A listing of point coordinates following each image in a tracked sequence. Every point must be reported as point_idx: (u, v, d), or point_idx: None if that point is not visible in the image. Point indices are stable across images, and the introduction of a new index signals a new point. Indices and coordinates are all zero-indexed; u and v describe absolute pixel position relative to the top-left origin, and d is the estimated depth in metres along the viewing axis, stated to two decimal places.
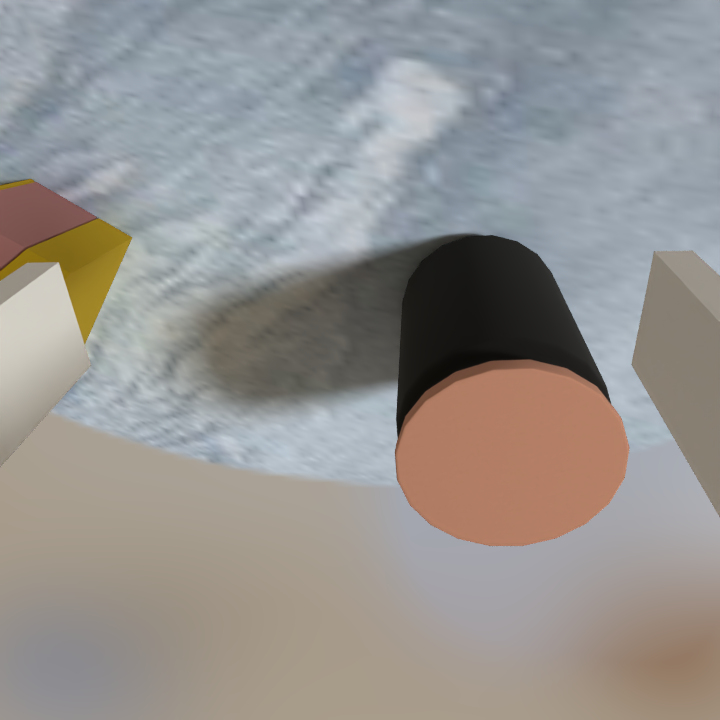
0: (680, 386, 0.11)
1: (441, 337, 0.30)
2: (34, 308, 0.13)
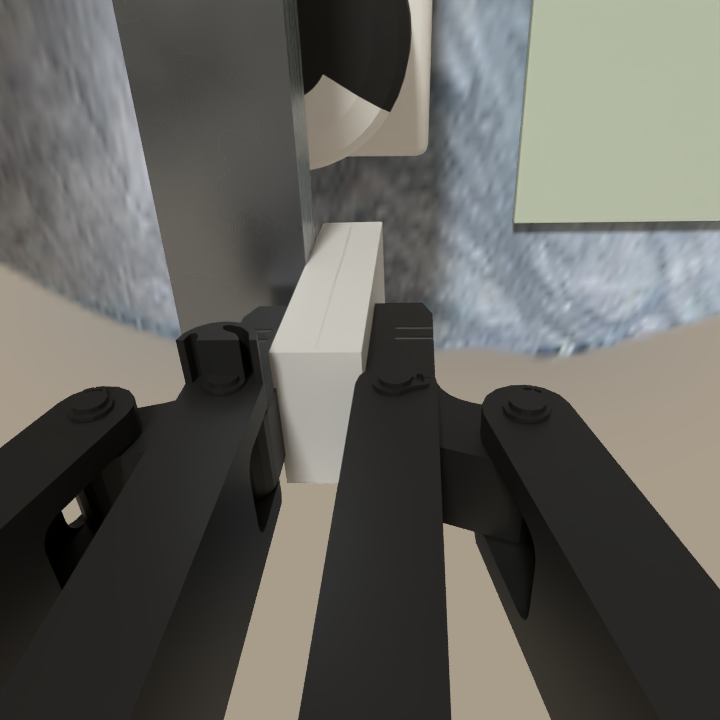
0: None
1: None
2: None
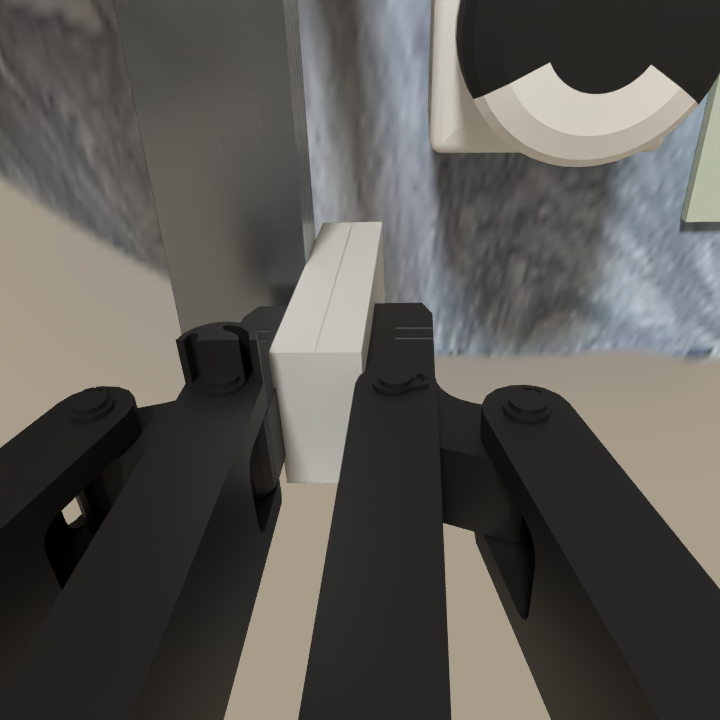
0: None
1: None
2: None
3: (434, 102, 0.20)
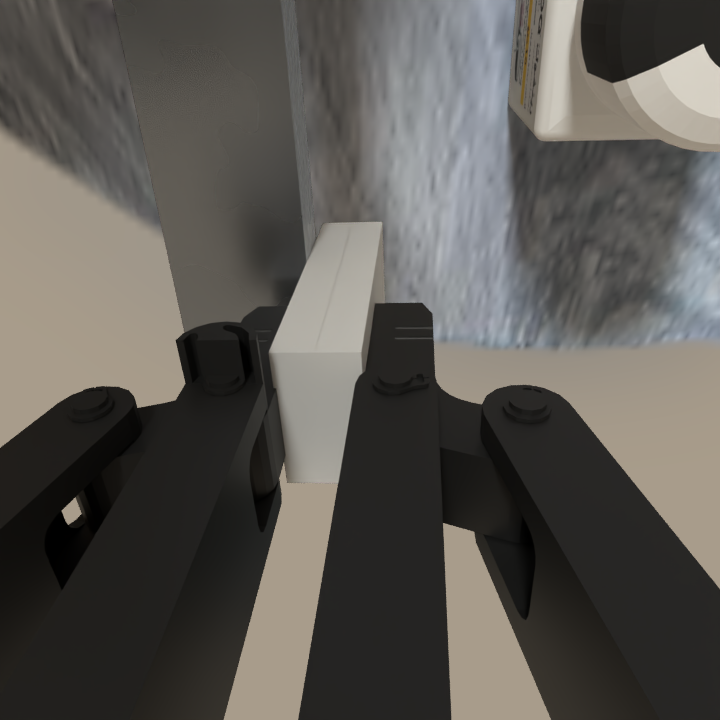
0: None
1: None
2: None
3: (542, 89, 0.20)
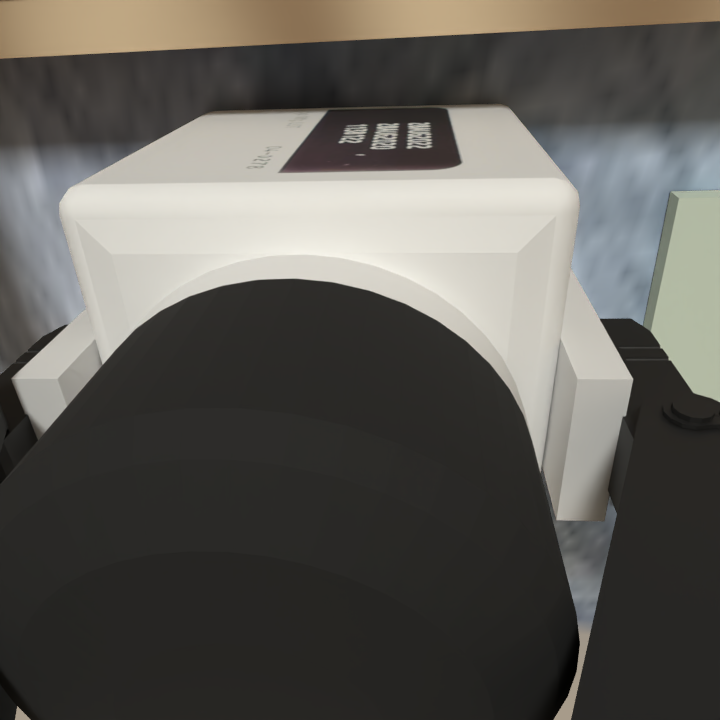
0: None
1: None
2: None
3: None
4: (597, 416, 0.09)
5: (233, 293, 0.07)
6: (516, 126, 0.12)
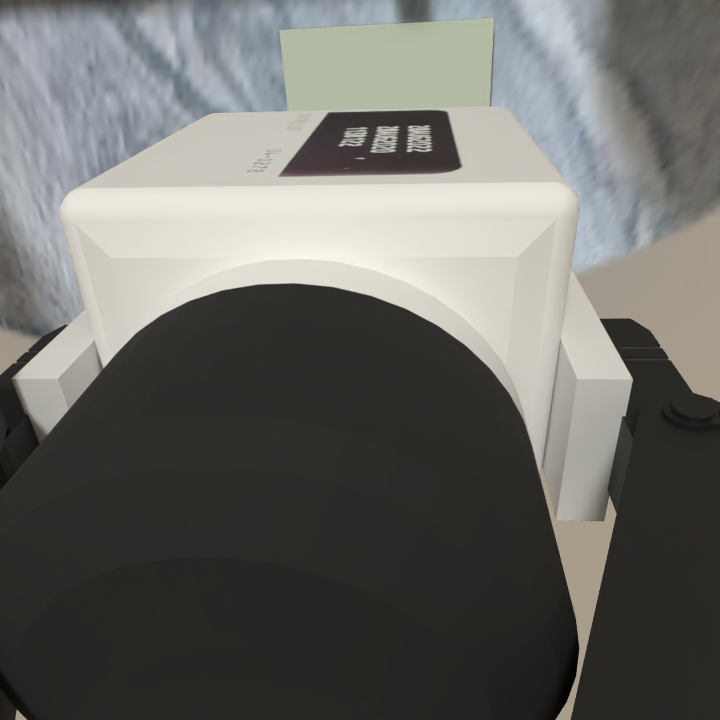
0: None
1: None
2: None
3: None
4: (597, 416, 0.09)
5: (233, 298, 0.07)
6: (516, 129, 0.12)
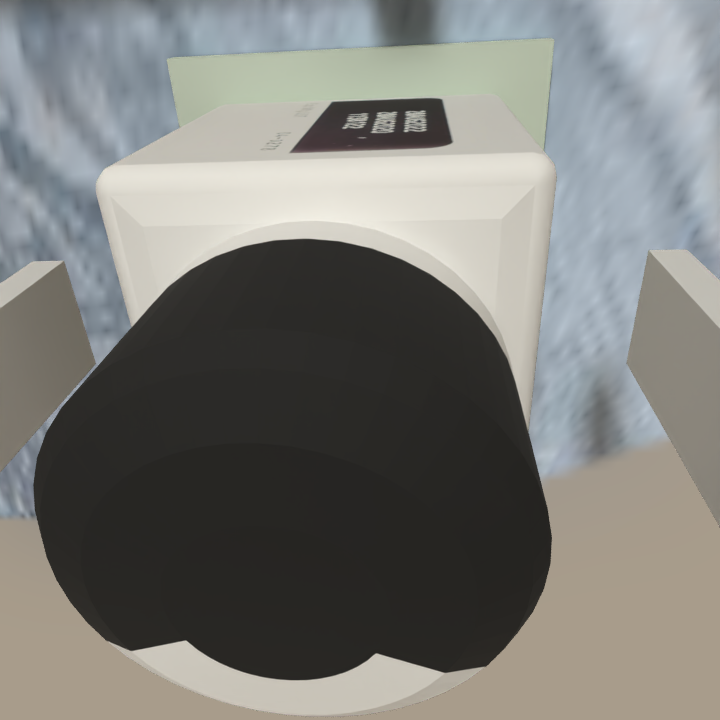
0: (674, 384, 0.11)
1: None
2: (40, 307, 0.13)
3: None
4: None
5: (254, 251, 0.08)
6: (504, 112, 0.13)
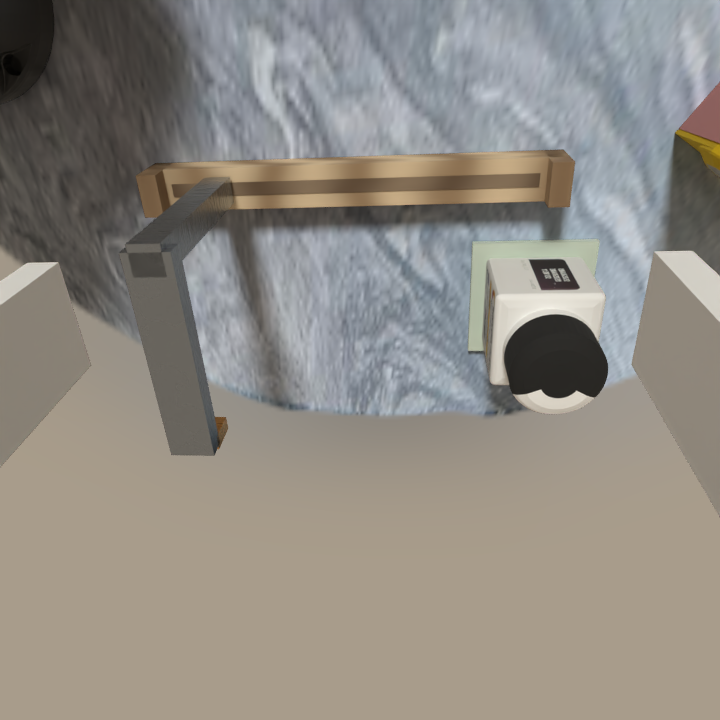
0: (680, 386, 0.11)
1: None
2: (34, 308, 0.13)
3: (492, 367, 0.47)
4: None
5: (548, 316, 0.42)
6: (587, 271, 0.47)
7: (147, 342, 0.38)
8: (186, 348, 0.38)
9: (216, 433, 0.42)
